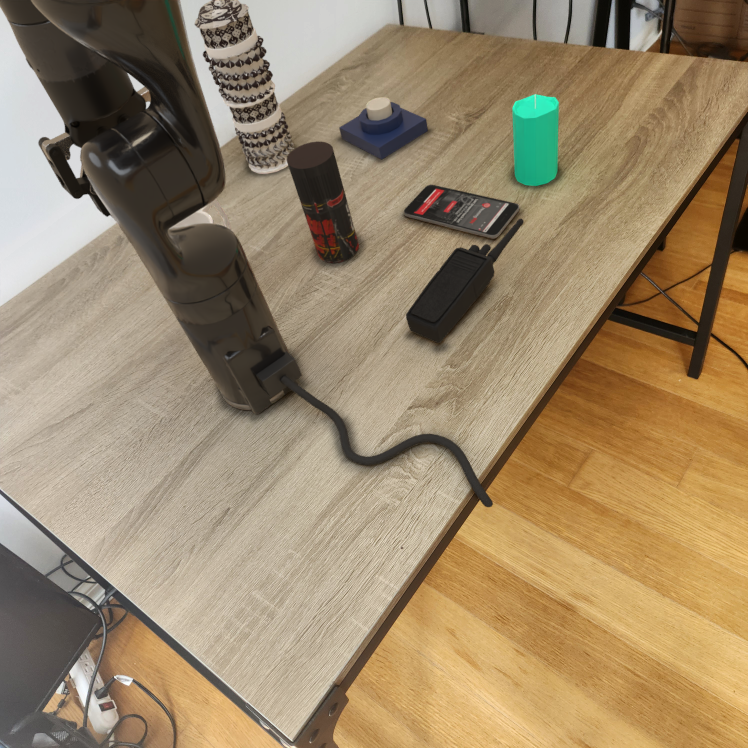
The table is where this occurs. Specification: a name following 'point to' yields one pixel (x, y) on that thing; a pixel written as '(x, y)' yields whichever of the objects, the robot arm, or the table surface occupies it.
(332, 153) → the deodorant
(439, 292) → the walkie-talkie
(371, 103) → the button
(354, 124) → the dispenser
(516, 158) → the candle
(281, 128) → the decorative candle
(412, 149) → the table surface
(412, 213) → the smartphone
